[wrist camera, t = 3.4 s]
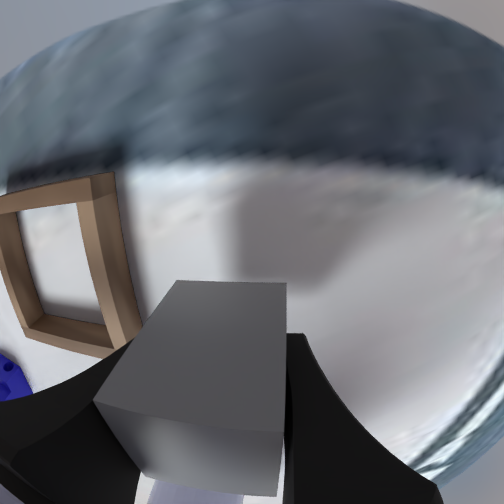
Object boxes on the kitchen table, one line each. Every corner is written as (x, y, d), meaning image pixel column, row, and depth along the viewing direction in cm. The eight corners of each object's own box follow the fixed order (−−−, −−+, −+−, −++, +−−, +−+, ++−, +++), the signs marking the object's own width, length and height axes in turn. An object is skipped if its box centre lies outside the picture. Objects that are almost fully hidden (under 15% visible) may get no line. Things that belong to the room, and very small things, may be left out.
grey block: (283, 366, 11) (276, 496, 6) (191, 361, 12) (145, 476, 6) (286, 282, 10) (284, 431, 4) (176, 280, 10) (92, 399, 5)
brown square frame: (147, 343, 16) (134, 365, 14) (40, 323, 17) (26, 337, 15) (113, 171, 12) (89, 177, 10) (5, 194, 13) (-16, 201, 11)
